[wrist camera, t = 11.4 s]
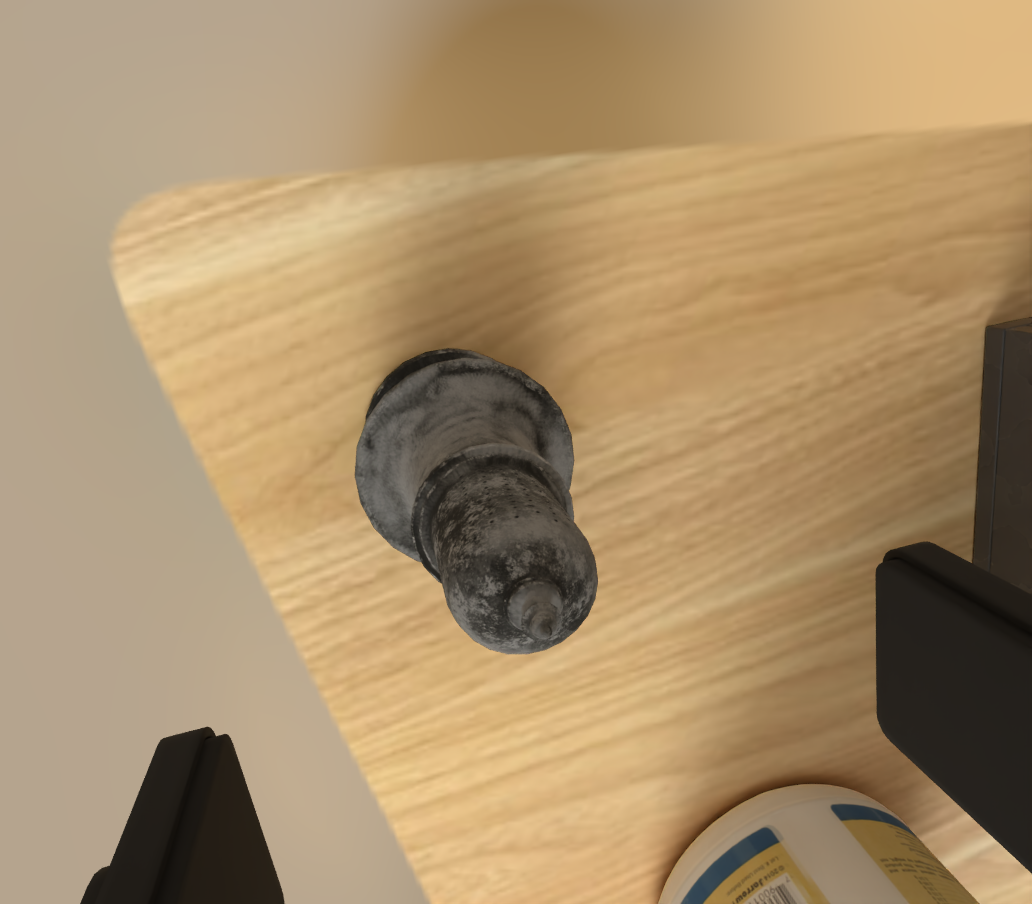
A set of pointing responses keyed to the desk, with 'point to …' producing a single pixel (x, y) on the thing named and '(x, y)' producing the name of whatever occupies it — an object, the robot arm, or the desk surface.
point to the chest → (1006, 456)
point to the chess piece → (480, 496)
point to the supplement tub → (810, 855)
